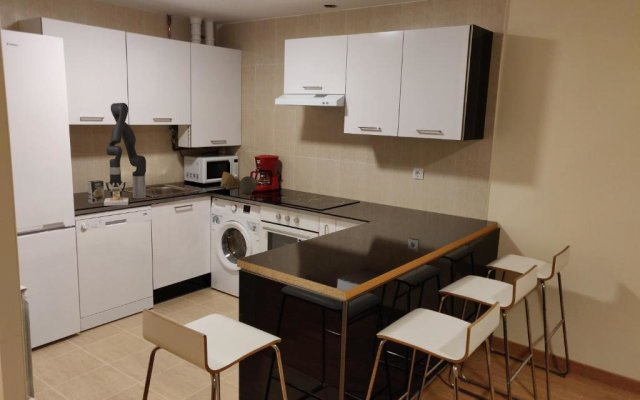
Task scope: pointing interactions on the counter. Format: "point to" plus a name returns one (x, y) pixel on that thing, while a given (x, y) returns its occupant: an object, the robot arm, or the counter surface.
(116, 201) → the white base board
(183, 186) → the counter surface
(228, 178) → the rough brown rock
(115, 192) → the maple block
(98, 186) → the coffee box
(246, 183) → the dark grey sphere
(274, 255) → the counter surface
